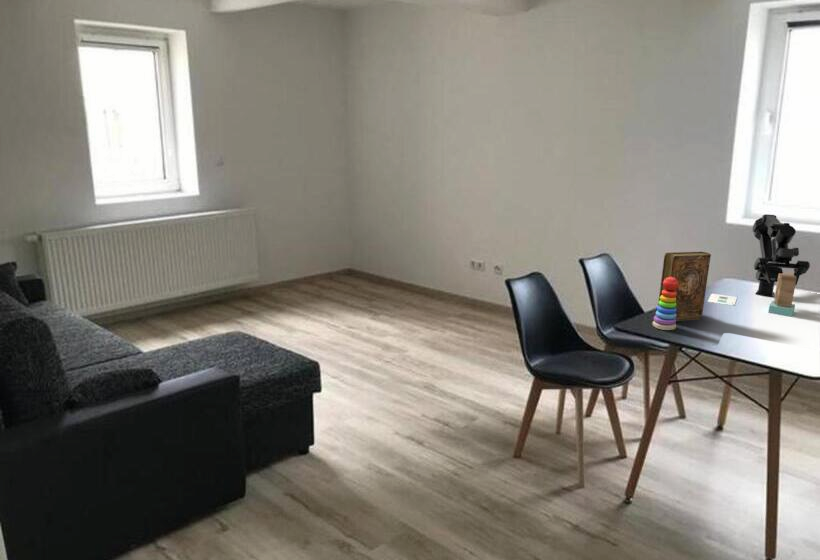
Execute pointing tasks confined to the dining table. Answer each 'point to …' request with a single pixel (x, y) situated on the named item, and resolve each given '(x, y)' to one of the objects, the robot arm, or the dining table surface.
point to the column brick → (785, 290)
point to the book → (687, 282)
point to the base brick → (781, 309)
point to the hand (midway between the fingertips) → (782, 283)
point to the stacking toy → (667, 306)
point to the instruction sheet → (722, 299)
